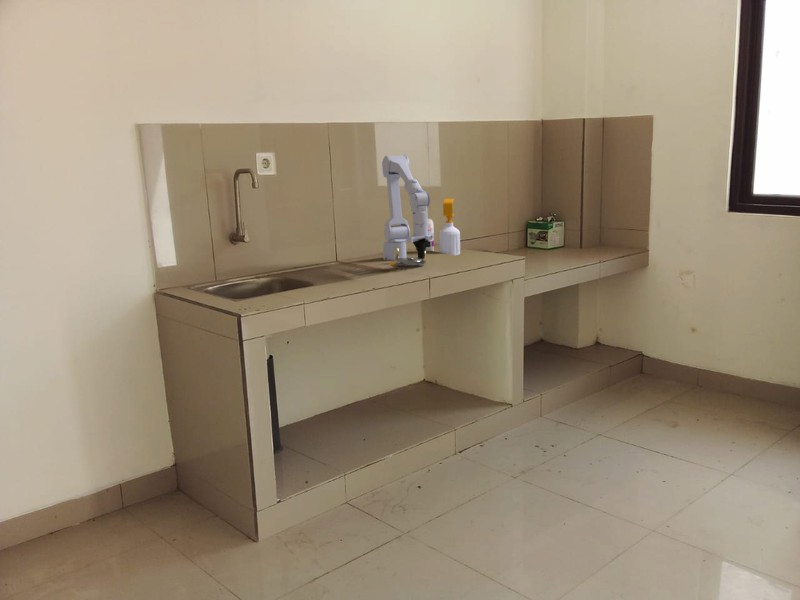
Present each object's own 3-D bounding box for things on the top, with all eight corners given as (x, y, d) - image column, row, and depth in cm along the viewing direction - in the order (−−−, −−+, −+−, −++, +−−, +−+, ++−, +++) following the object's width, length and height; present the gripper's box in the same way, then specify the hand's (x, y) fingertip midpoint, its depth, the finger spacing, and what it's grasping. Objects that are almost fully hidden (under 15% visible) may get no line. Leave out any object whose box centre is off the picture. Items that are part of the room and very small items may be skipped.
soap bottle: (461, 253, 303) (461, 197, 298) (457, 256, 295) (457, 199, 289) (442, 253, 306) (441, 198, 300) (437, 256, 297) (436, 200, 291)
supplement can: (425, 250, 314) (424, 218, 311) (437, 252, 308) (437, 219, 304) (412, 252, 309) (411, 219, 306) (424, 254, 303) (423, 221, 299)
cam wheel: (376, 267, 268) (375, 252, 266) (404, 260, 280) (404, 246, 279) (406, 271, 258) (405, 255, 256) (434, 264, 270) (433, 249, 269)
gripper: (417, 226, 254) (418, 262, 257) (439, 222, 265) (440, 256, 268) (402, 225, 258) (403, 260, 261) (425, 221, 269) (426, 255, 272)
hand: (421, 258), depth 265 cm, fingers closed
